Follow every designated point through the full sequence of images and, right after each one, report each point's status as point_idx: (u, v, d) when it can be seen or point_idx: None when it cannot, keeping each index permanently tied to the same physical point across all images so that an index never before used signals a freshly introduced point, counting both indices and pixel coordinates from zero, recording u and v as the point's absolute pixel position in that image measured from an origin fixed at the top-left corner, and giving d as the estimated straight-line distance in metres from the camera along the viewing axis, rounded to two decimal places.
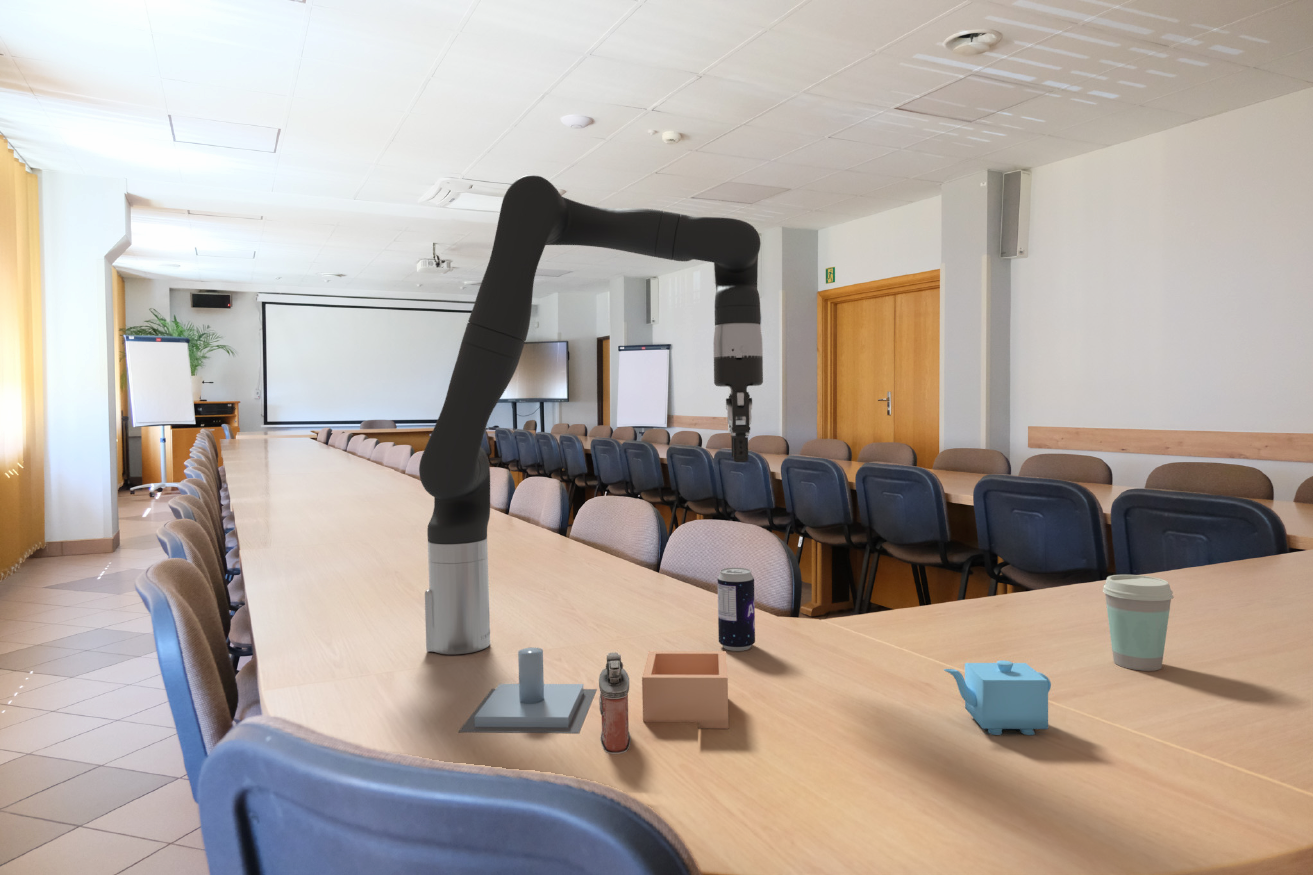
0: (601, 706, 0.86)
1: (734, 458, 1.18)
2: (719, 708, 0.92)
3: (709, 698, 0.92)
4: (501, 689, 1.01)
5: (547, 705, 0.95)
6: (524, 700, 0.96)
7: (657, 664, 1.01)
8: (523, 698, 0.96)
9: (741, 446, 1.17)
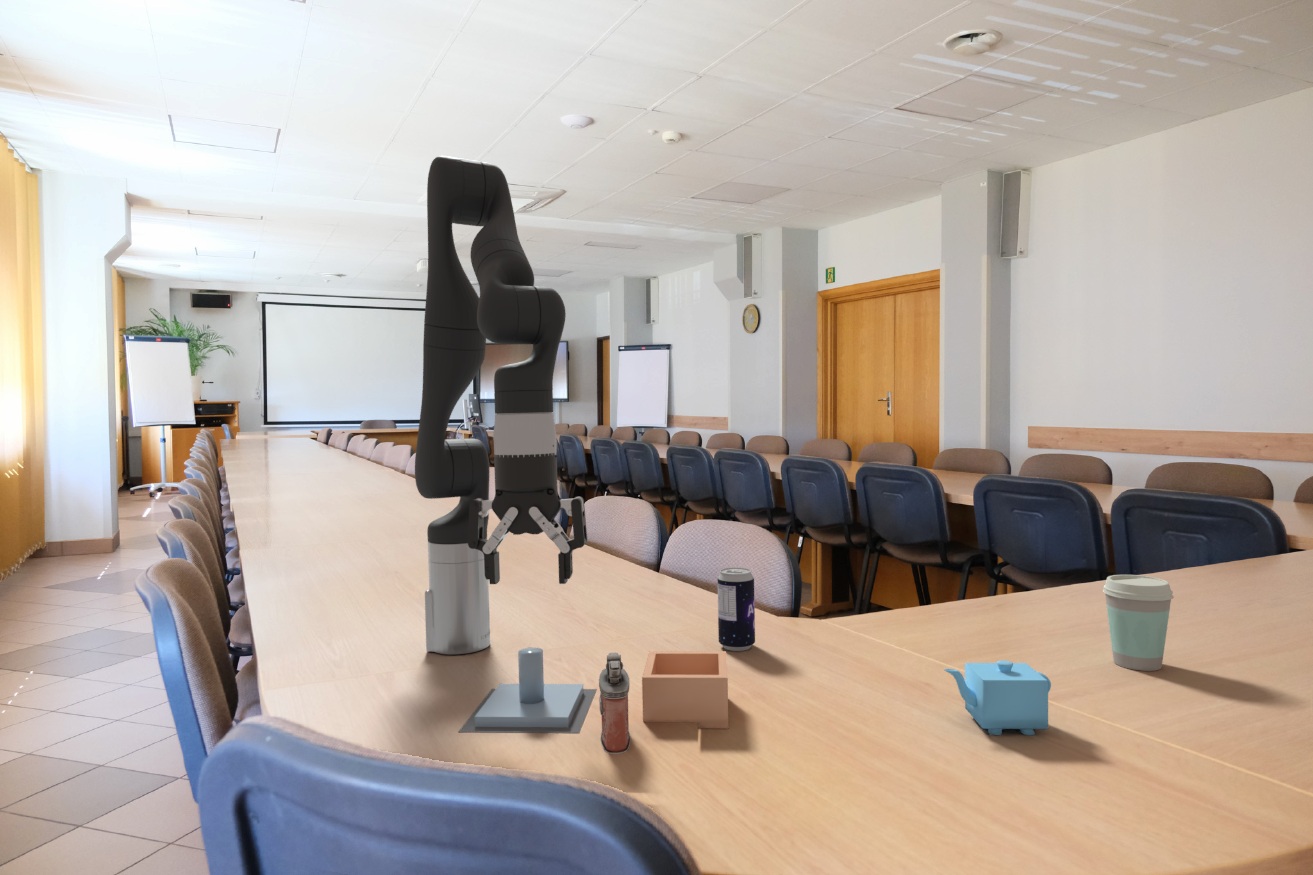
0: (601, 706, 0.86)
1: (564, 579, 0.95)
2: (719, 708, 0.92)
3: (709, 698, 0.92)
4: (501, 689, 1.01)
5: (547, 705, 0.95)
6: (524, 700, 0.96)
7: (657, 664, 1.01)
8: (523, 698, 0.96)
9: (571, 563, 0.96)
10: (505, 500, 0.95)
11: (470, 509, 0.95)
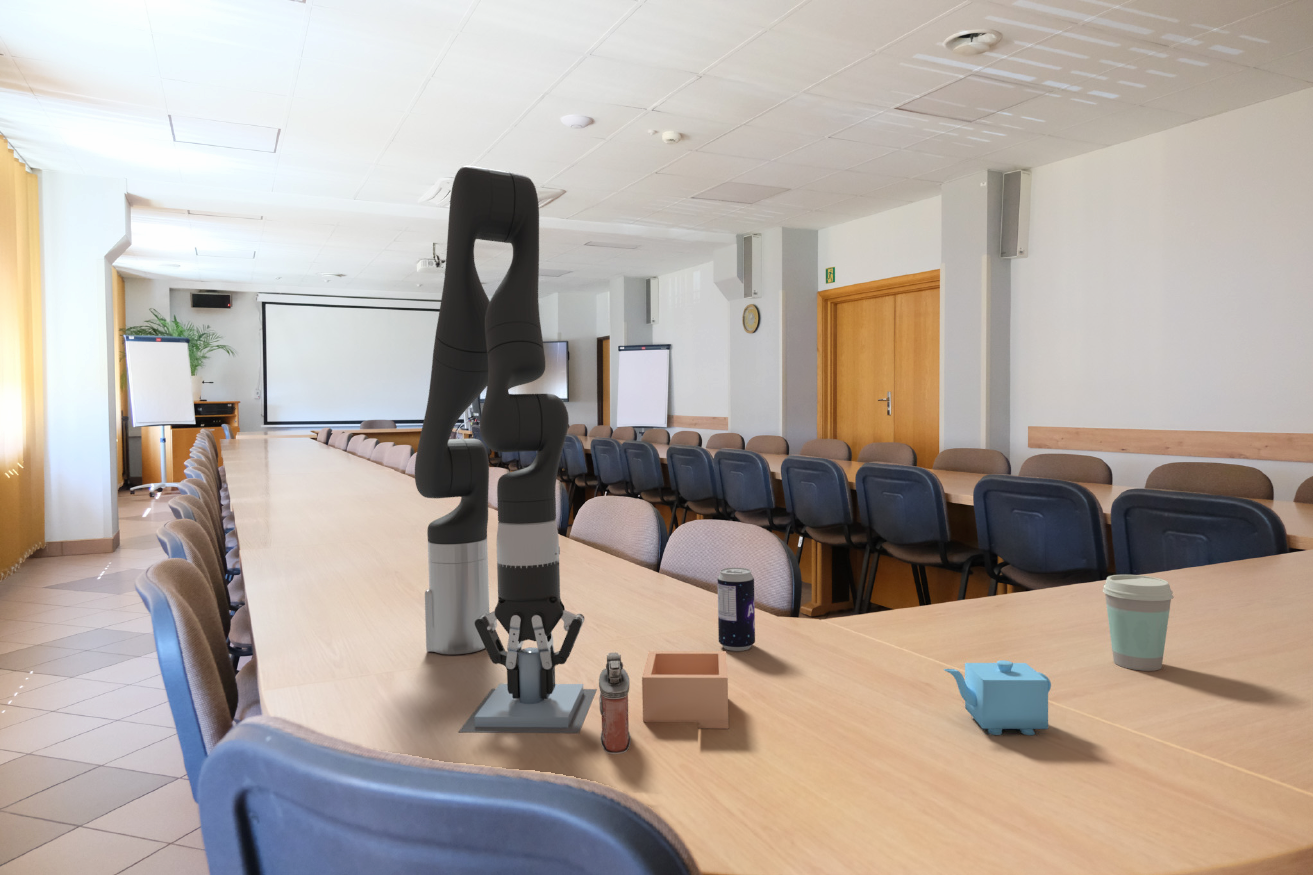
0: (601, 706, 0.86)
1: (546, 694, 0.96)
2: (719, 708, 0.92)
3: (709, 698, 0.92)
4: (501, 689, 1.01)
5: (547, 705, 0.95)
6: (524, 700, 0.96)
7: (657, 664, 1.01)
8: (523, 698, 0.96)
9: (553, 677, 0.97)
10: (505, 605, 0.96)
11: (478, 629, 0.96)
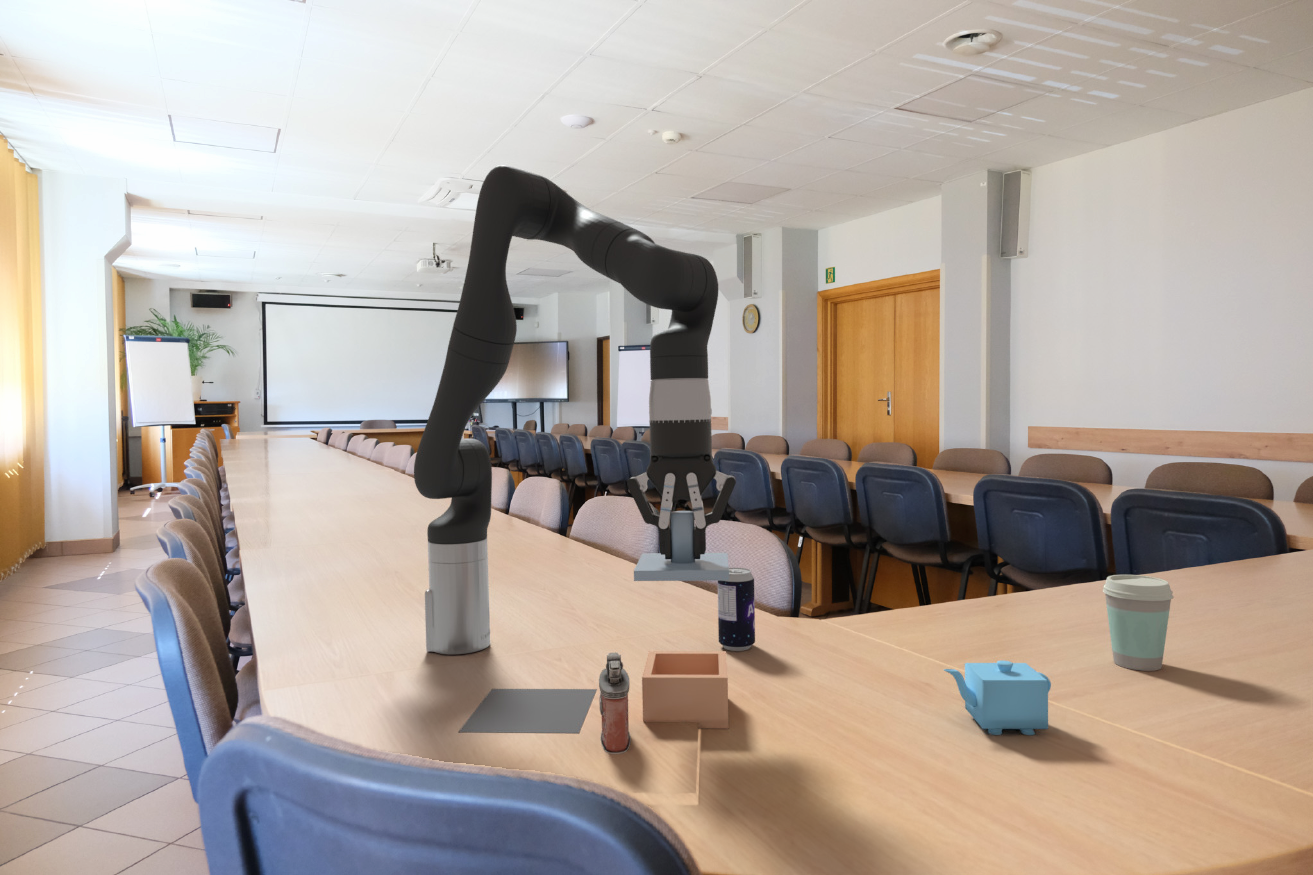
0: (601, 706, 0.86)
1: None
2: (719, 708, 0.92)
3: (709, 698, 0.92)
4: (646, 556, 1.00)
5: (702, 564, 0.94)
6: (677, 560, 0.95)
7: (657, 664, 1.01)
8: (676, 558, 0.95)
9: None
10: (658, 464, 0.95)
11: (630, 489, 0.95)
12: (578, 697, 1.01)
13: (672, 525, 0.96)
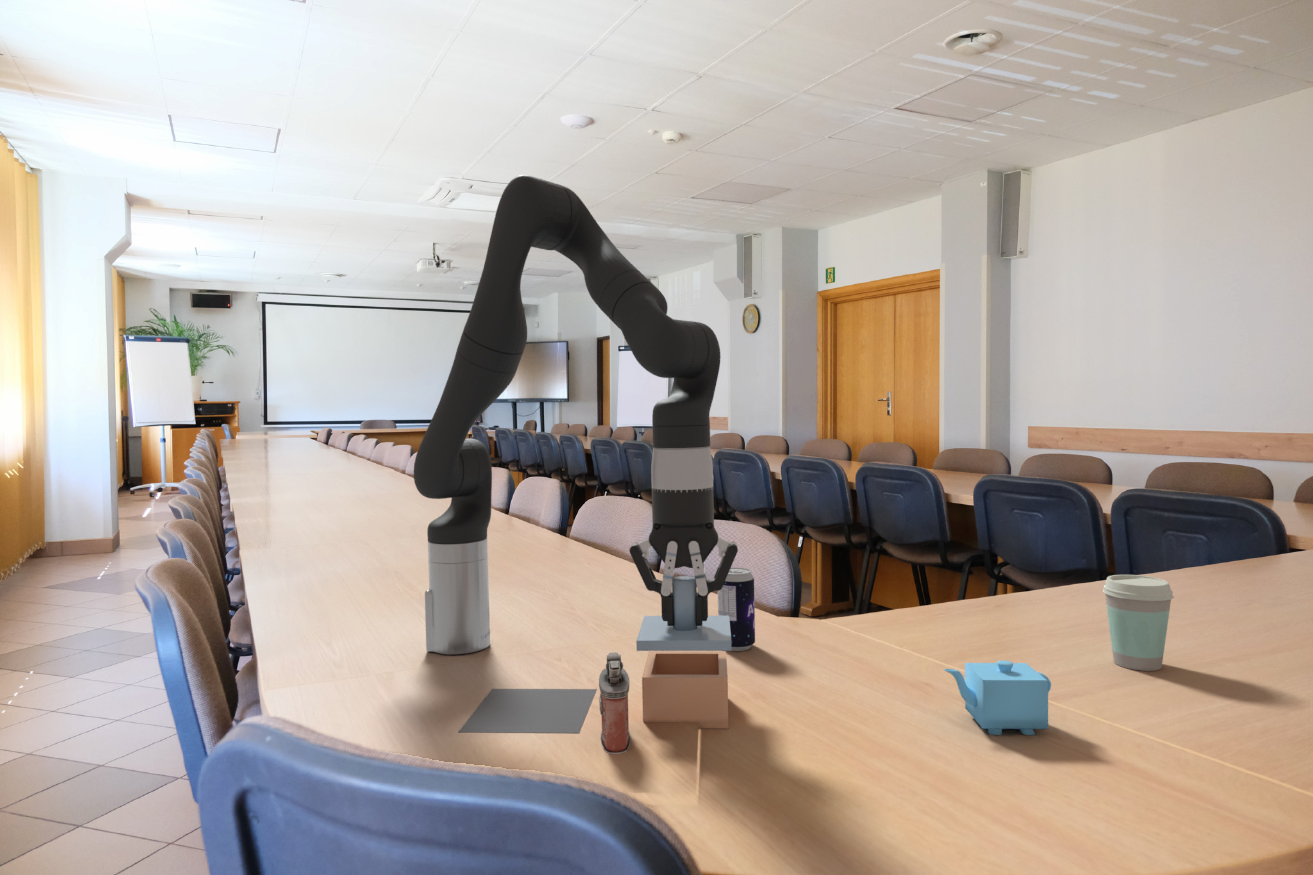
0: (601, 706, 0.86)
1: (702, 621, 0.96)
2: (719, 708, 0.92)
3: (709, 698, 0.92)
4: (649, 620, 1.01)
5: (704, 632, 0.95)
6: (679, 627, 0.96)
7: (657, 664, 1.01)
8: (678, 625, 0.96)
9: None
10: (660, 532, 0.96)
11: (633, 556, 0.96)
12: (578, 697, 1.01)
13: (674, 592, 0.96)
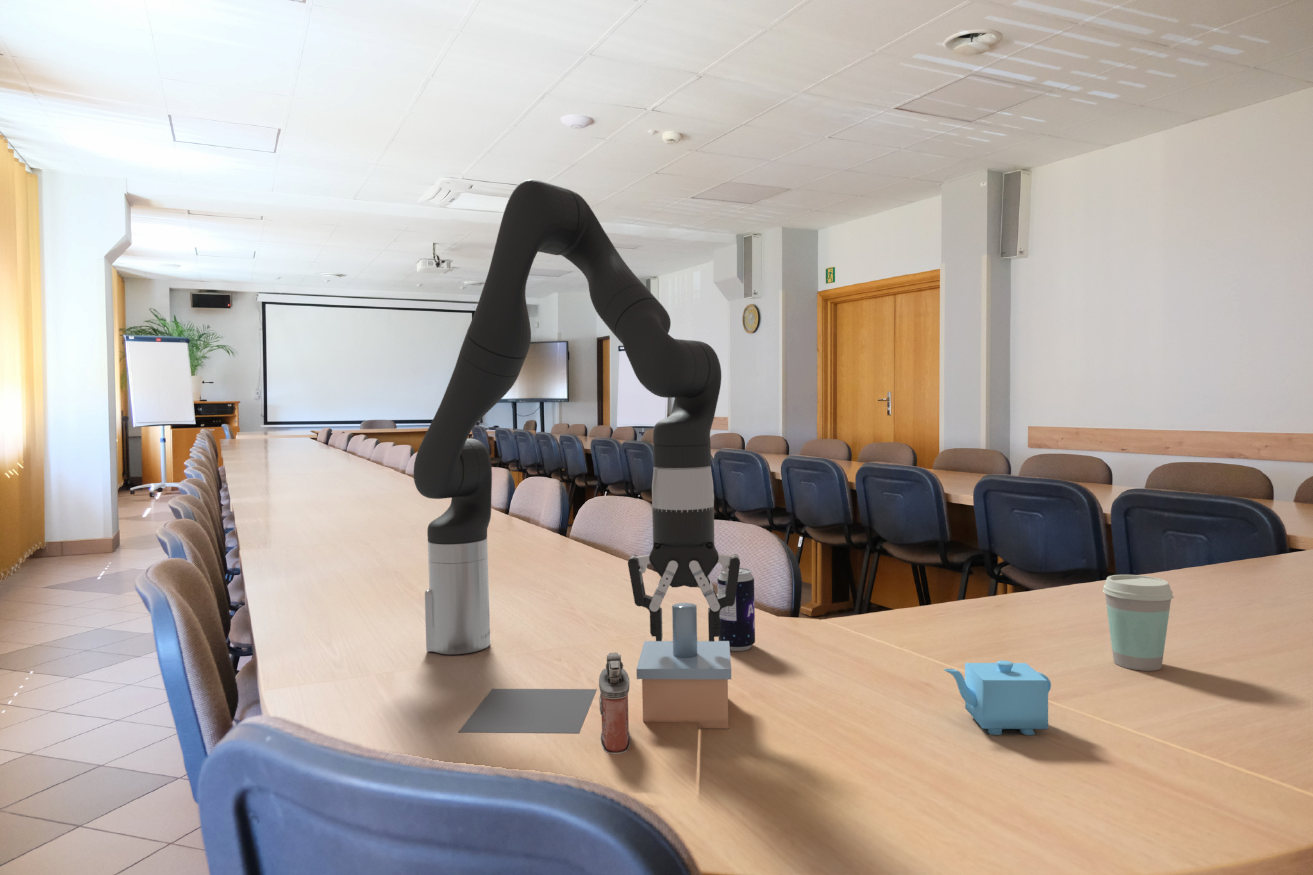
0: (601, 706, 0.86)
1: None
2: (719, 708, 0.92)
3: (709, 698, 0.92)
4: (649, 645, 1.01)
5: (704, 659, 0.95)
6: (679, 654, 0.96)
7: None
8: (678, 652, 0.96)
9: None
10: (662, 552, 0.96)
11: (630, 568, 0.96)
12: (578, 697, 1.01)
13: (674, 619, 0.96)
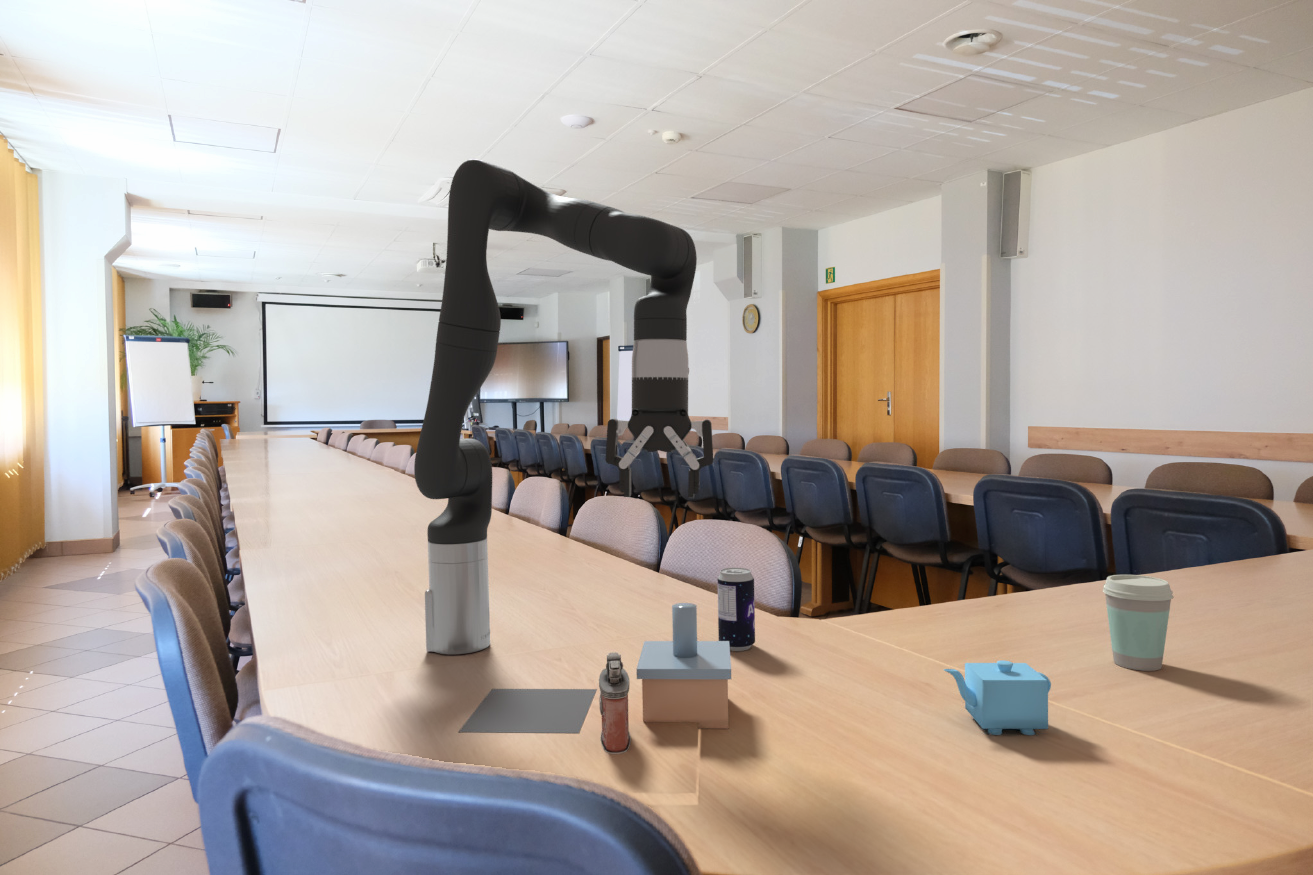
0: (601, 706, 0.86)
1: None
2: (719, 708, 0.92)
3: (709, 698, 0.92)
4: (649, 645, 1.01)
5: (704, 659, 0.95)
6: (679, 654, 0.96)
7: None
8: (678, 652, 0.96)
9: None
10: (641, 420, 1.04)
11: (608, 427, 1.04)
12: (578, 697, 1.01)
13: (674, 619, 0.96)
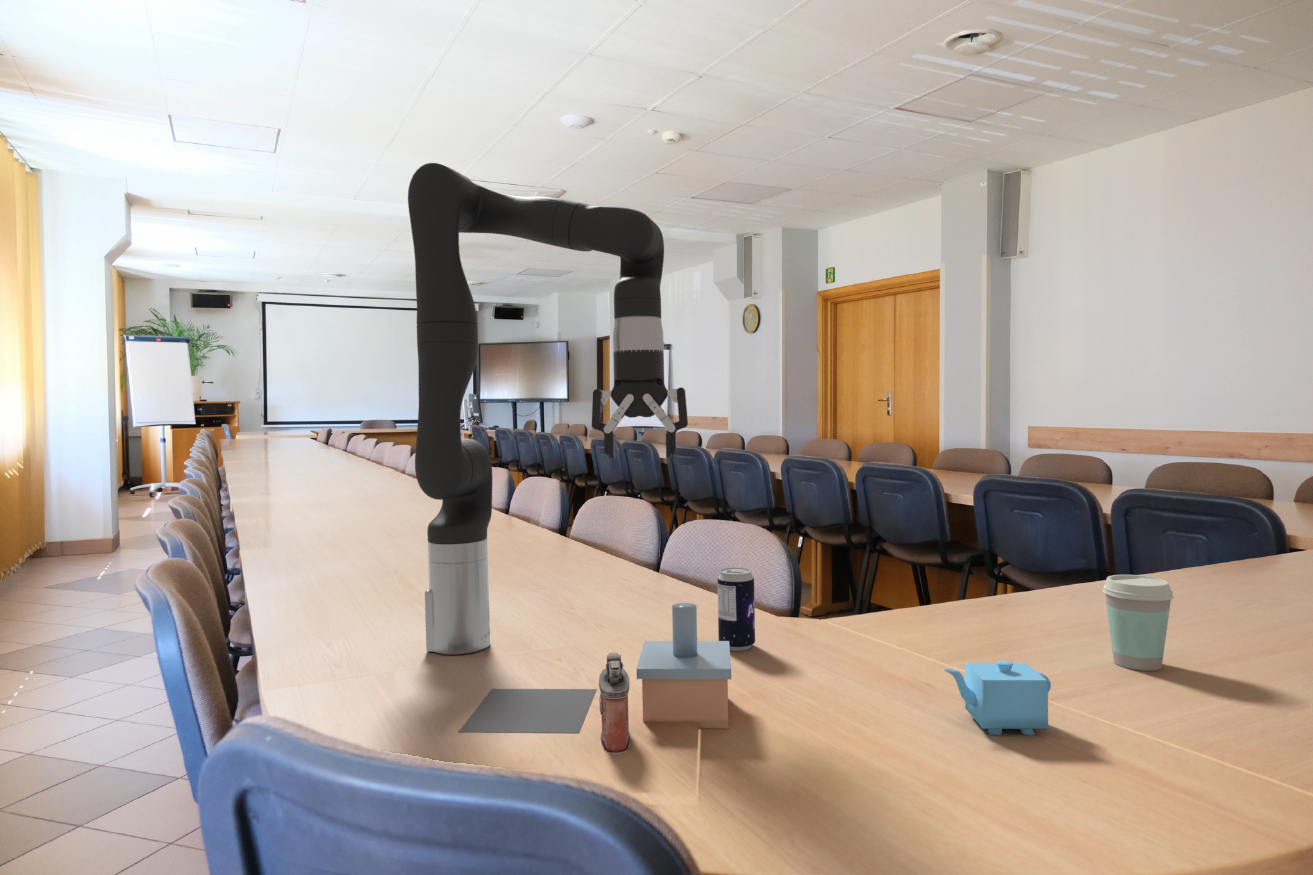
0: (601, 706, 0.86)
1: (670, 454, 1.17)
2: (719, 708, 0.92)
3: (709, 698, 0.92)
4: (649, 645, 1.01)
5: (704, 659, 0.95)
6: (679, 654, 0.96)
7: None
8: (678, 652, 0.96)
9: None
10: (622, 389, 1.17)
11: (594, 396, 1.17)
12: (578, 697, 1.01)
13: (674, 619, 0.96)
